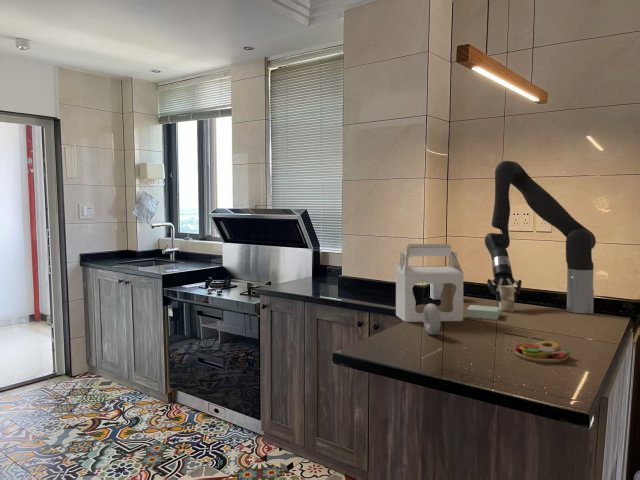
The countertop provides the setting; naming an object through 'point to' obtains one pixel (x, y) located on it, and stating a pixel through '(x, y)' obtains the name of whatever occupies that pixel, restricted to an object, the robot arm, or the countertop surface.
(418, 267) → the gable box
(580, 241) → the robot arm
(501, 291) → the maple block
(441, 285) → the supplement box
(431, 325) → the donut
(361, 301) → the countertop surface
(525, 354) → the toy food set
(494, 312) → the base slab
